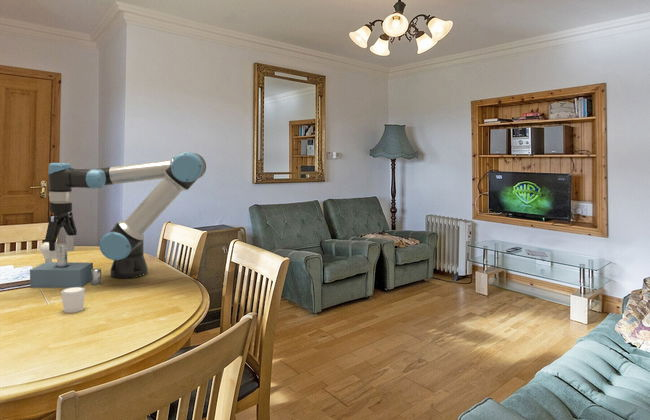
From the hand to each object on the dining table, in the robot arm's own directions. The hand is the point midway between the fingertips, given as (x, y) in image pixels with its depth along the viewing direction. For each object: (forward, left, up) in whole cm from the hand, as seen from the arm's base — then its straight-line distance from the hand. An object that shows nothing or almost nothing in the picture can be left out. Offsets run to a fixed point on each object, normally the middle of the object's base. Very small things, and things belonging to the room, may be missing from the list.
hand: (62, 254), depth 163 cm
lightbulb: (+19, -28, -12) cm, 36 cm away
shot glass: (-17, +30, -12) cm, 36 cm away
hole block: (0, 0, -12) cm, 12 cm away
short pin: (-13, +1, -12) cm, 18 cm away
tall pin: (0, 0, -12) cm, 12 cm away
